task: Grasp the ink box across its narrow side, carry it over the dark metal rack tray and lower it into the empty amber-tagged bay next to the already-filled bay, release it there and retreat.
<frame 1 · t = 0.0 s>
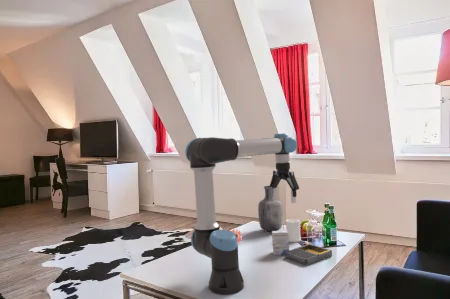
hand: (284, 201, 186), 28 cm above the table, fingers open, 13 cm apart
rack: (308, 256, 178), on the table
ink box: (281, 253, 186), on the table
vase: (271, 231, 230), on the table
mug: (291, 239, 209), on the table
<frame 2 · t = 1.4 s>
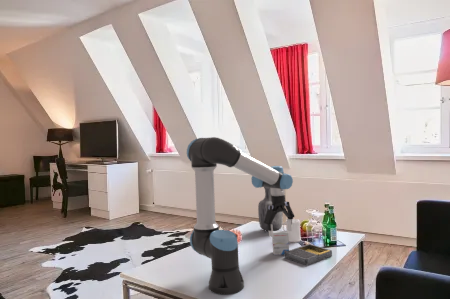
hand: (280, 233, 186), 11 cm above the table, fingers open, 13 cm apart
nothing on the table moved.
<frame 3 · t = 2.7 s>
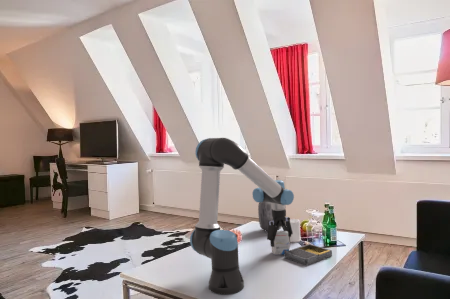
hand: (280, 250, 186), 2 cm above the table, fingers closed on ink box, 9 cm apart
ink box: (281, 253, 186), on the table, touching gripper
everything else where it was.
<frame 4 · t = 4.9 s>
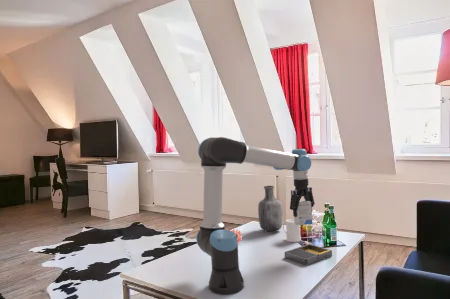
hand: (303, 220, 181), 18 cm above the table, fingers closed on ink box, 9 cm apart
ink box: (303, 223, 182), point 16 cm above the table, touching gripper
everything else where it was.
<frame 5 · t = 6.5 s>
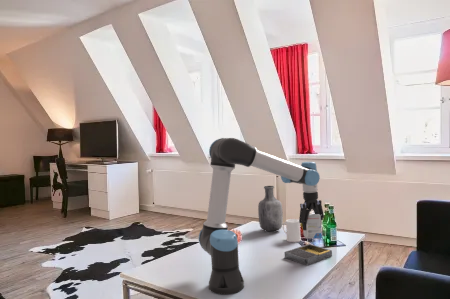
hand: (312, 234, 180), 11 cm above the table, fingers closed on ink box, 9 cm apart
ink box: (312, 237, 180), point 9 cm above the table, touching gripper
everything else where it was.
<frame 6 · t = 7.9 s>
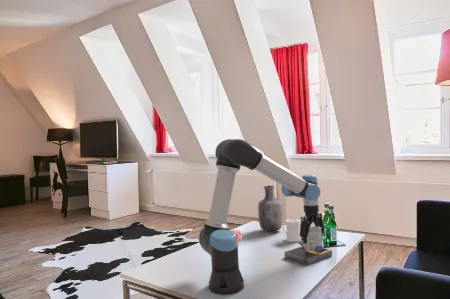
hand: (313, 247, 180), 4 cm above the table, fingers closed on ink box, 9 cm apart
ink box: (313, 249, 180), point 3 cm above the table, touching gripper, rack
everything else where it was.
when the fingers open (4 cm above the table, at t = 8.2 s): ink box stays where it is, resting on rack.
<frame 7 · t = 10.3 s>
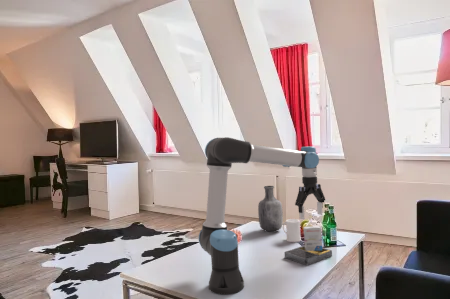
hand: (311, 216, 179), 20 cm above the table, fingers open, 13 cm apart
ink box: (313, 249, 180), point 3 cm above the table, touching rack
everything else where it was.
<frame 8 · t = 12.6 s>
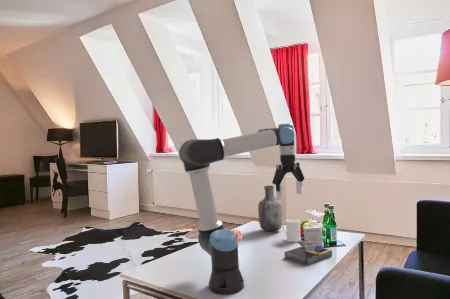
hand: (289, 195, 175), 33 cm above the table, fingers open, 13 cm apart
nothing on the table moved.
at the end: ink box inside the target area on the rack (0.2 cm from its centre), point 2.8 cm above the rack's base; ink box tilted 0°; the gripper is holding nothing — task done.
